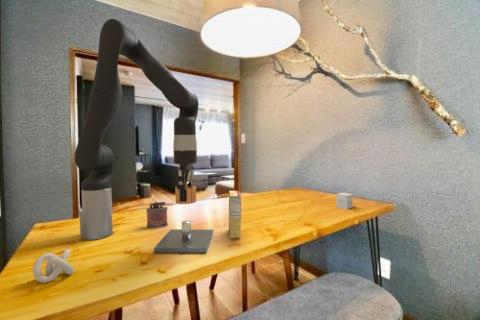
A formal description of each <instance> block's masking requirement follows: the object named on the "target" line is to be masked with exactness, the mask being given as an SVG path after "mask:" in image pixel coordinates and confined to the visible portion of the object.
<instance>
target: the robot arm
mask: <svg viewBox="0 0 480 320" xmlns="http://www.w3.org/2000/svg"><path fill="white" fill-rule="evenodd" d="M98 39H99V41H98V50H97V51H98V52H97V61H96V67H95V73H94V77H93V78H94V79H93V82H92V87H91V91H90V95H89V99H88V106H87V111H86V115H85V119H84V123H83V127H82V130H81V133H80V136H79V140H78V142H77V145H76V148H75V151H74V163H75V165H76V167H77V168H78V169H79V170H81V171H85V172H89V175H88V176H87V178H85V179H84V180H82V182H81V185H80V187H81V188H80V189H81V209H82V210H80V211H79V233H80V234H79V235H80V239H84V240H88V241H89V240H94V241H95V240H98V239H99V240H101V239H105V238H107V237H109V236H111V235H112V234H113V231H114V229H113V224H114V223H113V198H112V196H113V195H112V194H113V193H112V184H113V183H112V182H113V180H114V174H115V173H114V172H115V171H114V170H115V169H114V168H115V166H114V165H115V160H114V159H115V158H114V153H113V151H112V149H111V148H110V147H109V145H108V146H107V145H106V144H102V141H103V138H104V135H105V132H106V130H107V129H108V127H109V126H110V125H111V124H112V122H113V121H114V120H115V118H116V116H118V114H119V112H120V111H119V110H120V108H121V102H122V99H123V89H122V83H121V79H120V74H119V69H118V68H119V67H118V66H119V58H120V55H121V56H123V57H124V58H127V59H128V60H130V61H131V62H133V63H134V64H135V65H136V66H138V67H139V68H140V70H141V71H142V72H143V74H144V76H145V77H146V79H148V80H149V82H150V83H151V84H152V85H154V87H156V89H158V90H159V91H160V92H161V93H162V95H163V96H164V98H165V99H166V100H167V102H169V104H171V105H172V106H173V107H175V109H176V108H177V109H179V113H178V117H176V118H175V119H174V120H173V142H172V143H173V150H172V151H173V164H175V165H179V168H178V169H176V170H175V179H176V180H175V181H176V187H177V189H179V196H180V202H186V201H187V185H192V186H194V185H193V184H194V183H195V181H194V179H195V177H194V175H195V173H194V171H195V170H194V169H195V167H194V166H192V164H193V165H194V164H197V162H198V151H197V150H198V149H197V148H198V147H197V144H198V143H197V135H196V134H197V133H196V132H197V130H196V129H197V128H196V127H197V126H196V122H197V118H198V113H199V98H198V95H197V94H196V92H195V91H193V90H191V89H189V88H187V87H186V86H184V85H183V84H182V83H181V82H180V81H179V80H178V78H177V76H176V75H175V74H173V72H171V71H170V70H169V68H167V67H166V66H165V65H164V64H163V63H161V61H159V60H158V59H157V58H156V57H155V56H153V54H151V52H150V51H149V50H148V49H147V48H146V46H145V45H144V44H143V42H142V41H141V40H140V39H139V37H138V36H137V35H136V33H135V32H134V31H133V30H131V29H130V28H129V27H127V26H126V25H125V24H124V23H123V22H121V21H119V20H118V19H115V18H110V19H106V21H105V22H104V23H103V25H102V26H101V29H100V34H99V38H98Z"/></svg>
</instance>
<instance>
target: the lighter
mask: <svg viewBox="0 0 480 320" xmlns="http://www.w3.org/2000/svg"><path fill="white" fill-rule="evenodd" d="M168 226H169V225H168V206H166V201H159V202H158V201H154V202H149V207H148V208H146V228H147V229H156V228H157V229H158V228H165V227H168Z"/></svg>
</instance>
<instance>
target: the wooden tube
mask: <svg viewBox="0 0 480 320" xmlns="http://www.w3.org/2000/svg"><path fill="white" fill-rule="evenodd" d="M196 202H197V186H196V185H187V201H186V202H180V196H179V189H177V186H175V203H176V204H177V205H178V204H179V205H191V204H194V203H196Z"/></svg>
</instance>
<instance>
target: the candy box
mask: <svg viewBox="0 0 480 320" xmlns="http://www.w3.org/2000/svg"><path fill="white" fill-rule="evenodd" d="M241 230H242V195H241V193H240V191H239V190H229V191H228V232H229V233H228V234H229V239H240V238H242V235H241V233H242V231H241Z"/></svg>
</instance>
